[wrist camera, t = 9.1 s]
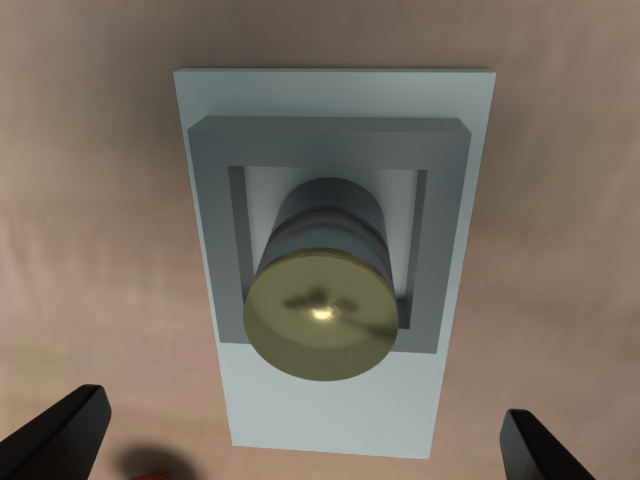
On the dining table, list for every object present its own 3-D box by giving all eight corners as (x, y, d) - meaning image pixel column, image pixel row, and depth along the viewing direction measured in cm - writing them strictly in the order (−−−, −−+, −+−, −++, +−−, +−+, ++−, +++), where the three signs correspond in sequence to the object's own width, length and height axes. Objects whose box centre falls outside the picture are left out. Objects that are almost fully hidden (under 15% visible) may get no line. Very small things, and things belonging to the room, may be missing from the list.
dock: (488, 68, 15) (515, 82, 13) (426, 443, 25) (434, 495, 22) (183, 68, 16) (148, 80, 13) (236, 430, 26) (222, 479, 23)
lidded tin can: (388, 177, 16) (404, 260, 11) (382, 275, 18) (393, 384, 13) (272, 176, 17) (235, 256, 11) (279, 273, 19) (250, 378, 13)
